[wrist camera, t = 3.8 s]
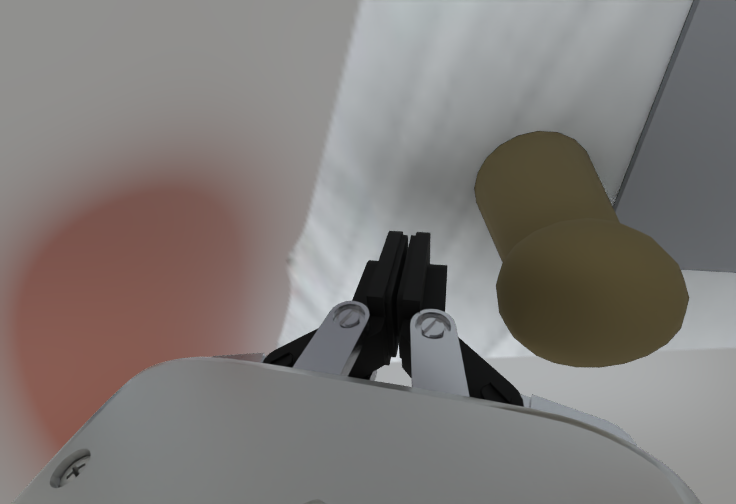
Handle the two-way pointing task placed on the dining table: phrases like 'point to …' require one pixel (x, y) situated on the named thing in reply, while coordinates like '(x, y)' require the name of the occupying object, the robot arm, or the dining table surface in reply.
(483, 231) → the dining table surface
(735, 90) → the rubber mat
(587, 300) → the cork
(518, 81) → the dining table surface
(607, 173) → the dining table surface
